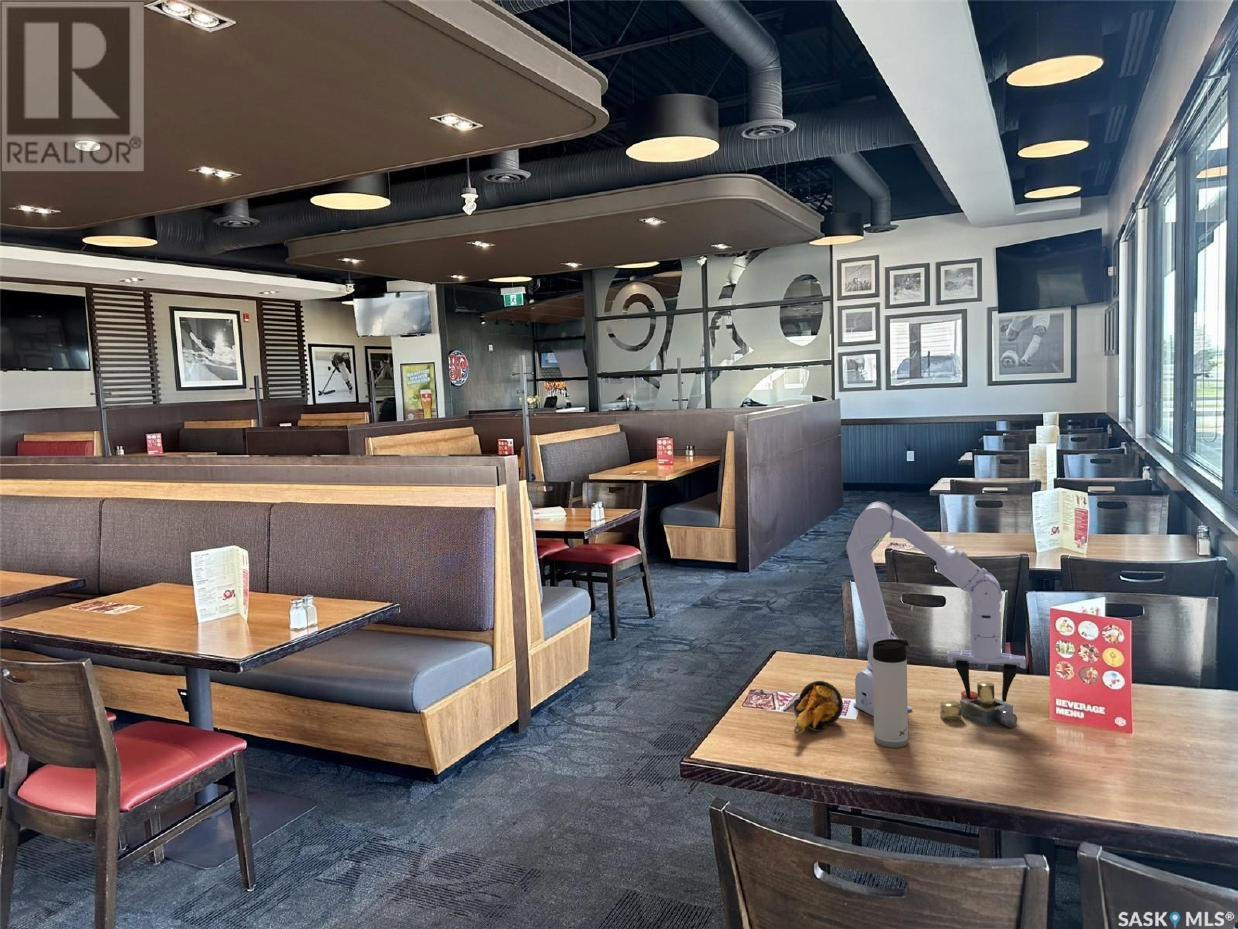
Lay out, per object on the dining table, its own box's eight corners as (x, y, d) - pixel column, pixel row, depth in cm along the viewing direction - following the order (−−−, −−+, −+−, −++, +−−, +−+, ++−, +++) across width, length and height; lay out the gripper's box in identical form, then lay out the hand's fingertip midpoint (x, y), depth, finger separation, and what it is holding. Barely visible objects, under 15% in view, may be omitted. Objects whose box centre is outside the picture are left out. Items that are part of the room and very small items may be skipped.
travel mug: (912, 749, 153) (910, 646, 152) (876, 747, 155) (874, 645, 153) (907, 735, 159) (905, 636, 158) (872, 734, 161) (870, 635, 159)
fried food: (851, 693, 171) (846, 695, 154) (830, 741, 170) (822, 749, 153) (810, 672, 174) (801, 673, 158) (789, 720, 173) (777, 725, 157)
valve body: (998, 732, 159) (998, 714, 159) (950, 710, 171) (950, 694, 170) (1025, 725, 161) (1025, 708, 161) (976, 704, 173) (976, 688, 173)
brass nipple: (986, 716, 164) (985, 688, 164) (974, 711, 167) (973, 683, 166) (998, 713, 165) (997, 685, 165) (986, 708, 168) (985, 680, 168)
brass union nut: (950, 723, 164) (950, 709, 164) (936, 716, 168) (935, 703, 168) (965, 720, 166) (965, 705, 165) (951, 713, 169) (950, 699, 169)
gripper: (1024, 630, 166) (1024, 695, 167) (947, 625, 171) (948, 688, 172) (1026, 640, 159) (1026, 707, 160) (946, 635, 165) (947, 699, 166)
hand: (986, 698), depth 166 cm, fingers open, 6 cm apart
